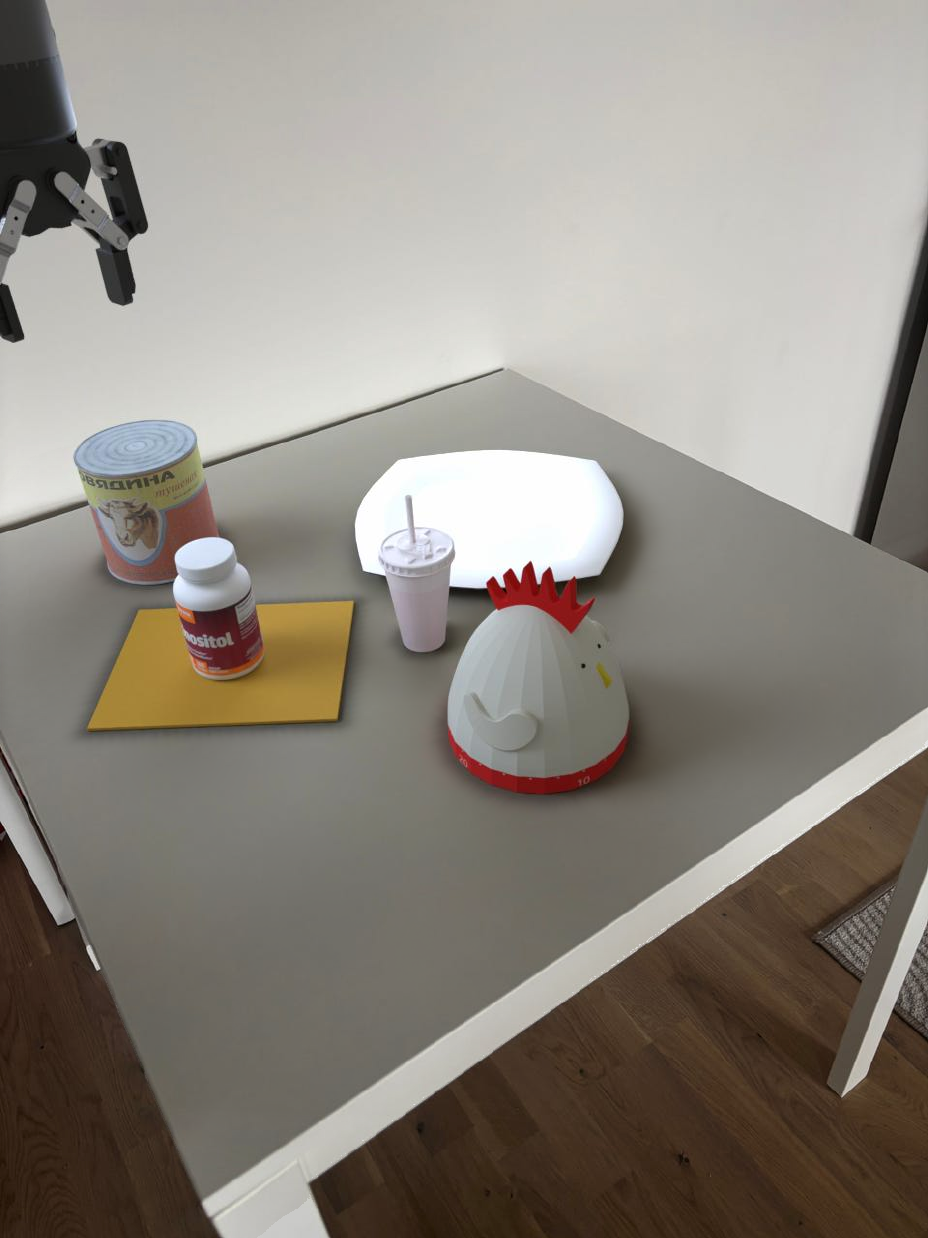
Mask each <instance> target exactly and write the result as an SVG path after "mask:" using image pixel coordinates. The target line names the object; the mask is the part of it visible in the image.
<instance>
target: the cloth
mask: <svg viewBox="0 0 928 1238" xmlns="http://www.w3.org/2000/svg"><path fill="white" fill-rule="evenodd" d="M255 605H256V610H257V615H258V620H259V625H260V630H261V634H262V639H263V644H264V656H263V658H262V660H261V662H260V663H259V665H258V666H257V667H256V668H255V669H254V670H253V671H251V672H250V673H248V674H246V675H244V676H241V677H238V678H235V679H229V680H213V679H208V678H205V677H203V676H201V675H200V674H198V673H197V672H196V670H195V669H194V667H193V665H192V662H191V659H190V655H189V651H188V647H187V643H186V639H185V636H184V632H183V628H182V624H181V621H180V617H179V613H178V610H177V607H173V608H172V607H171V608H170V607H169V608H168V607H167V608H148V609H138V611H137V613H136V616H135V618H134V620H133V622H132V625H131V627H130V630H129V632H128V634H127V637H126V639H125V640H124V643H123V645H122V648H121V650H120V652H119V655H118V657H117V659H116V661H115V664H114V666H113V668H112V671H111V673H110V675H109V678H108V680H107V681H106V684H105V687H104V688H103V691H102V693H101V696H100V698H99V700H98V702H97V705H96V707H95V709H94V712H93V714H92V715H91V719H90V720H89V722H88V725H87V728H86V729H87V731H88V732H97V731H98V732H100V731H123V730H124V731H126V730H147V729H148V730H149V729H151V730H153V729H176V728H199V727H201V728H202V727H230V726H250V725H251V726H252V725H254V726H255V725H277V724H280V725H281V724H298V723H299V724H303V723H326V722H327V723H328V722H338V720H339V714H340V708H341V700H342V693H343V687H344V679H345V672H346V664H347V657H348V650H349V643H350V636H351V628H352V621H353V614H354V608H355V601H354V600H340V601H339V600H337V601H315V602H291V603H271V604H270V603H268V604H266V603H265V604H264V603H263V604H255Z"/></svg>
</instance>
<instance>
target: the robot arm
mask: <svg viewBox="0 0 928 1238" xmlns="http://www.w3.org/2000/svg"><path fill="white" fill-rule="evenodd" d="M59 51H60V50H59V47H58V43H57V35H56V32H55V28H54V27H53V24H52V19H51V16H50V12H49V8H48V4H47V1H46V0H0V338H1V339H3V340H4V341H8V342H9V343H11V344H15V343H18V342H21V341H24V340H25V333H24V330H23V327H22V323H21V320H20V316H19V314H18V311H17V308H16V304H15V302H14V298H13V295H12V293H11V289H10V286H9V285H8V284H6V283H3V280H4V278H5V277H4V276H5V273H6V272H7V271H6V270H7V267H8V264H9V262H10V258H11V257H12V256H13V255H14V254H15V253H16V252H17V249H18V247H19V243H20V240H21V237H22V236H24V237H27V238H31V237H35V236H39V235H41V234H42V233H44V232H46V231H47V230H49V229H65V228H69V227H72V226H73V225H72V224H74V225H75V226H77V227H79V228H80V229H81V230H82V231H83V232H84V233H86V234H87V236H88V237H90V238H91V239H92V240H93V241H94V242H95V243H97V244H98V245H99V247H98V248H97V247H96V248H95V249H94V250H95V253H96V257H97V261H98V265H99V268H100V272H101V276H102V280H103V285H104V288H105V292H106V295H107V298H108V300H109V301H110V302H111V303H112V304H116V305H119V306H122V307H124V306H127V305H130V304H133V303H134V296H133V295H134V294H136V288H137V285H136V280H135V276H134V272H133V268H132V267H133V266H132V264H131V260H130V256H129V251H128V246H129V243H130V242H131V241H132V240H133V239H134V238H135V237H136V236H138V235H144V234H145V233H147V231H148V229H149V222H148V218H147V215H146V211H145V208H144V204H143V200H142V197H141V194H140V190H139V187H138V183H137V179H136V174H135V172H134V168H133V164H132V161H131V157H130V154H129V150H128V147H127V145H126V144H125V143H124V142H122V141H117V140H111V139H106V138H99V137H97V138H95V139H94V140H93V141H92V143H91V145H90V146H86V147H83V146H82V145H81V143H80V141H79V138H78V135H77V133H78V132H77V129H78V123H77V119H76V114H75V111H74V107H73V103H72V99H71V95H70V91H69V86H68V83H67V79H66V75H65V71H64V67H63V63H62V59H61V55H60V52H59ZM91 170H92V172H93V174H94V175H95V176H96V177H97V178H100V181H101V185H102V188H103V191H104V195H105V198H106V201H107V204H108V205H107V206H108V208H109V211H110V215H111V218H112V219H111V218H110V216H109V213H108V212H107V211H106V210H105V209H104V208H103V207H102V206H101V205H100V204H98V203H97V202H96V201H95V200H94V199H93V198H92V197H91V196H90V194H88V193H87V192H86V191H85V190H86V187H87V184H88V181H89V178H90V174H91Z"/></svg>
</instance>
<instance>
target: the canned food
mask: <svg viewBox="0 0 928 1238" xmlns="http://www.w3.org/2000/svg"><path fill="white" fill-rule="evenodd" d="M72 459H73V462H74V464H75V467H76V468H77V471H78V475H79V478H80V480H81V483H82V487H83V490H84V494H85V496H86V499H87V503H88V506H89V508H90V512H91V515H92V518H93V522H94V524H95V528H96V531H97V534H98V536H99V537H98V538H99V541H100V544H101V547H102V550H103V553H104V556H105V559H106V565H107V568H108V571H109V573H110V574H111V575H112V576H113V577H115V578H116V579H118V580H119V581H122V582H125V583H127V584H128V583H129V584H133V585H140V586H141V585H142V586H152V585H153V586H154V585H163V584H168V583H169V584H170V583H174V582H175V579H176V577H177V576H178V575H179V574H178V572H177V568H176V563H175V555H176V553H177V551H178V550H179V549H180V548H181V547H183V546H184V545H186V544H188V543H190V542H192V541H194V540H198V539H202V538H209V537H216V538H221V537H220V535H219V531H218V527H217V523H216V519H215V518H216V517H215V514H214V510H213V509H214V508H213V505H212V500H211V496H210V492H209V488H208V483H207V479H206V474H205V471H204V467H203V461H202V458H201V453H200V449H199V444H198V435H197V433H196V431H195V430H194V429H193V428H192V427H190V426H188V425H187V424H185V423H182V422H179V421H175V420H167V419H144V420H136V421H131V422H130V421H129V422H125V423H121V424H118V425H114V426H111V427H107V428H105V429H103V430H100V431H98V432H95V433H94V434H92V435H90V436H89V437H88V438H86V439H85V440H83V441H82V442H81V443H80V444H79V445H78V446H77V447H76V449H75V450H74V453H73V455H72Z"/></svg>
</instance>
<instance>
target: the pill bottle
mask: <svg viewBox="0 0 928 1238" xmlns="http://www.w3.org/2000/svg"><path fill="white" fill-rule="evenodd" d="M175 563H176V568H177V572H178V574H179V575H178V576H177V577H176V579H175V581H174V582H173V585H172V593H173V598H174V602H175V606H176V608H177V610H178V613H179V617H180V621H181V624H182V628H183V632H184V636H185V639H186V643H187V647H188V651H189V655H190V659H191V662H192V665H193V667H194V669H195V670H196V672H197V673H198V674H200V675H201V676H203V677H205V678H208V679H213V680H229V679H235V678H238V677H241V676H244V675H246V674H248V673H250V672H251V671H253V670H254V669H255V668H256V667H257V666H258V665H259V663H260V662H261V660H262V658H263V656H264V644H263V639H262V634H261V630H260V625H259V620H258V615H257V610H256V605H257V604H256V600H255V595H254V592H253V587H252V586H253V585H252V582H251V578H250V575H249V572H248V570H247V569H246V568H245V567H244V566H243V564H241V563H239V562H238V558H237V553H236V550H235V546H234V545H233V543H232V542H231V541H229V540H227V539H226V538H222V537H220V538H216V537H209V538H202V539H198V540H194V541H192V542H190V543H188V544H186V545H184V546H183V547H181V548H180V549H179V550H178V551H177V553H176V555H175Z"/></svg>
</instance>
